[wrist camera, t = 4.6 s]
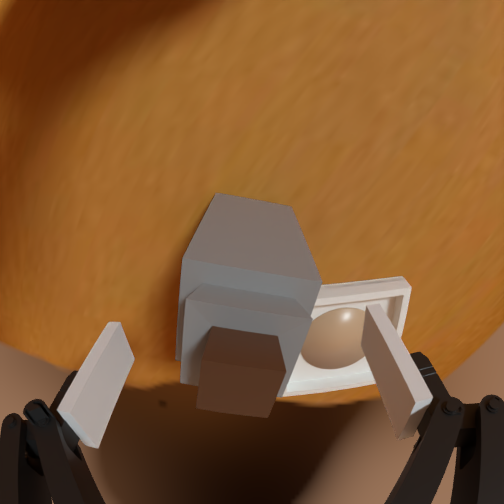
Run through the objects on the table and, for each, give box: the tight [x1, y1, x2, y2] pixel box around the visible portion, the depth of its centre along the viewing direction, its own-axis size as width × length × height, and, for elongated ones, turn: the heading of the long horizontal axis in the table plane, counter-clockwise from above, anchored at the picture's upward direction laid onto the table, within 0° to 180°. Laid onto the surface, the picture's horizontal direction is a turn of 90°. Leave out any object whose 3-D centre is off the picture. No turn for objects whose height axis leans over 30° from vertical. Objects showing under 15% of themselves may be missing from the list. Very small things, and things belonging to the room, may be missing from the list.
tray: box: [282, 276, 412, 397], centre depth 32 cm, size 14×14×2 cm
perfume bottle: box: [175, 193, 322, 418], centre depth 20 cm, size 7×7×18 cm
